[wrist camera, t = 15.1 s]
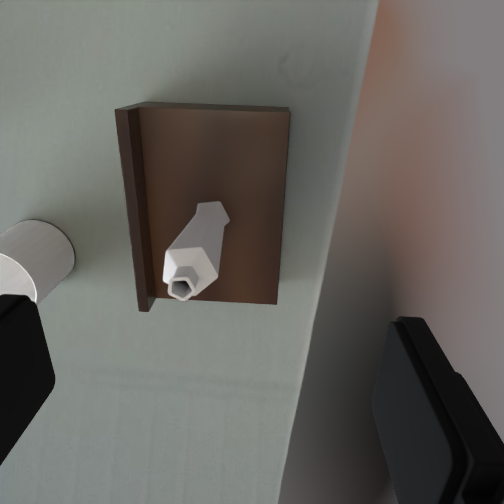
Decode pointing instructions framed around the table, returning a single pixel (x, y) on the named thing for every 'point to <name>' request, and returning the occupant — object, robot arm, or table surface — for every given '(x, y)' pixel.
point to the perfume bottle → (196, 252)
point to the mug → (33, 259)
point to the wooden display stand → (205, 191)
